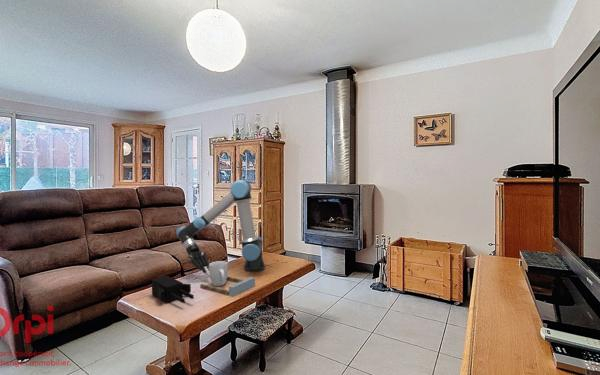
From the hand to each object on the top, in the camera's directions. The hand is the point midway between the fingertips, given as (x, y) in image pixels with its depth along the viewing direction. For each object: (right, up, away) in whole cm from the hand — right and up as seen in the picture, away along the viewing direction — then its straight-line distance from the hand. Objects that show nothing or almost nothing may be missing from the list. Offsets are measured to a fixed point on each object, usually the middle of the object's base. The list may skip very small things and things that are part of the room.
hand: (209, 276), depth 185 cm
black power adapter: (-11, -5, -26) cm, 29 cm away
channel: (+12, -4, -7) cm, 15 cm away
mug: (+8, -4, -4) cm, 10 cm away
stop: (+24, -4, -15) cm, 28 cm away
